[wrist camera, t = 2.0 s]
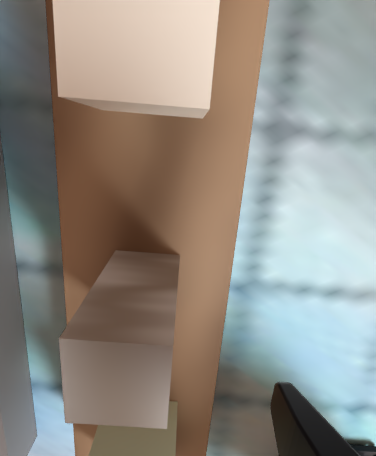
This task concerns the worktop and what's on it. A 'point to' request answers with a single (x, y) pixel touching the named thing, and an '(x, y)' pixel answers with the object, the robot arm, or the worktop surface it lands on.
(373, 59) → the worktop surface
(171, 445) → the pale olive cube
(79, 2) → the block
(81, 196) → the pallet
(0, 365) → the dock
